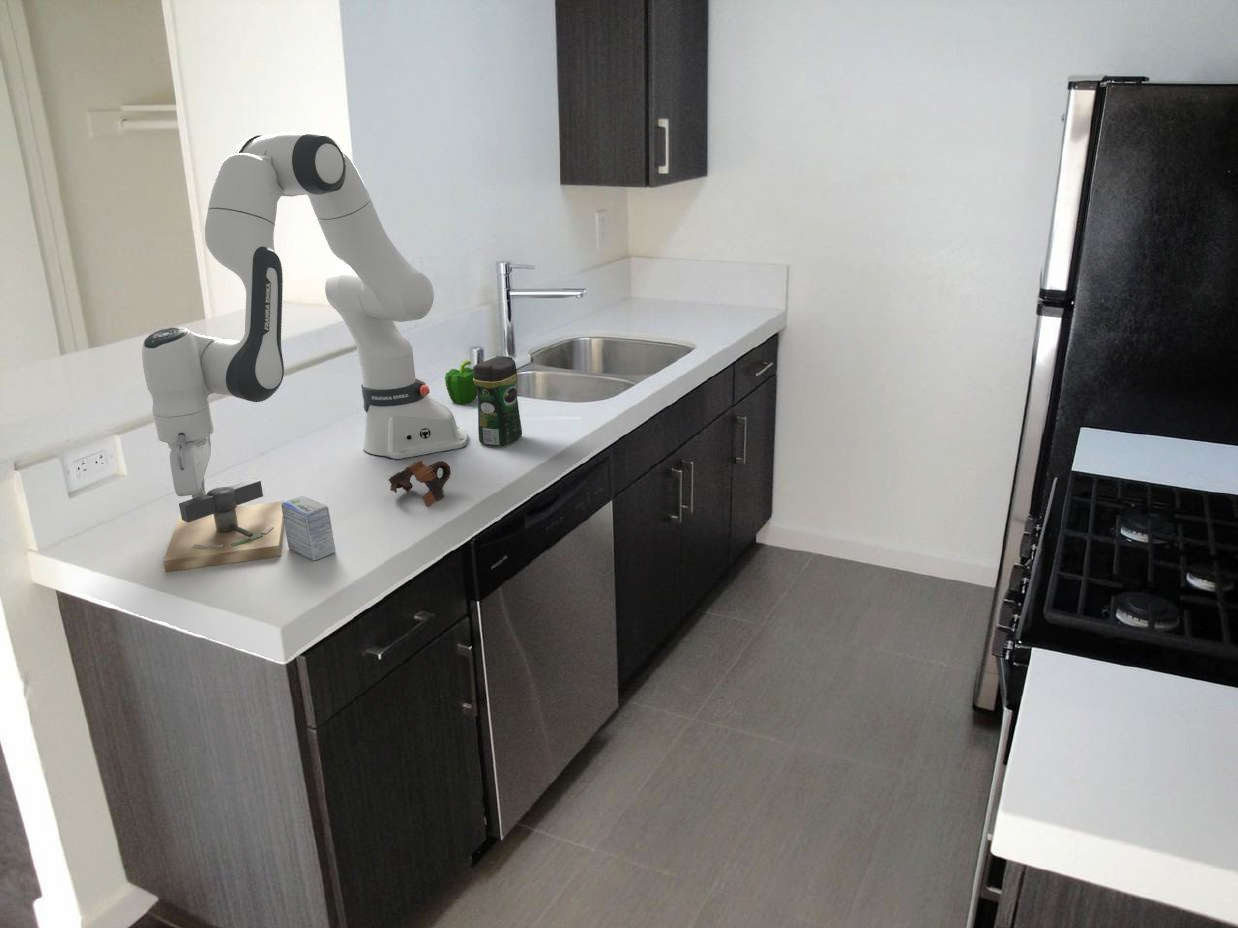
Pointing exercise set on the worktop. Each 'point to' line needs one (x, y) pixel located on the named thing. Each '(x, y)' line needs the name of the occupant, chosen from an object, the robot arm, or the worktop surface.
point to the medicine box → (308, 527)
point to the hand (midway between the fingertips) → (200, 500)
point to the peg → (222, 505)
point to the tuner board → (227, 539)
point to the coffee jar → (497, 401)
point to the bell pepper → (461, 384)
